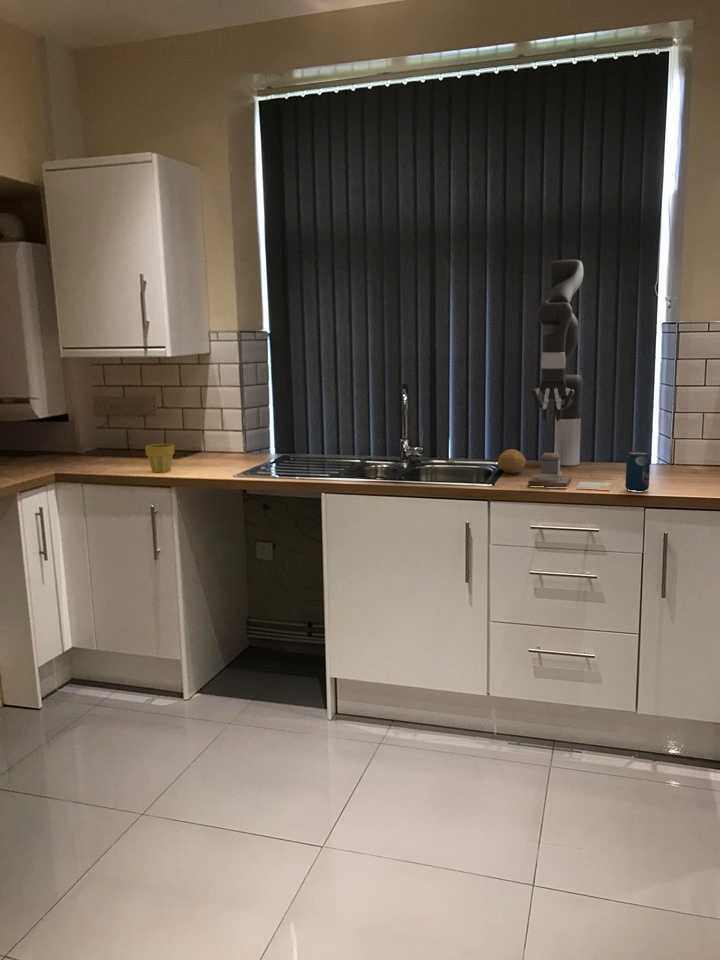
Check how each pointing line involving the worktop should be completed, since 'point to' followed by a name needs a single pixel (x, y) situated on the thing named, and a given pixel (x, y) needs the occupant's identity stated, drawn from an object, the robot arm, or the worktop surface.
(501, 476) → the worktop surface
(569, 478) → the post stand
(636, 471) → the soda can
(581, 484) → the mat
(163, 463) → the plant pot
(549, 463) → the cap
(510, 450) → the potato
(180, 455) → the worktop surface
